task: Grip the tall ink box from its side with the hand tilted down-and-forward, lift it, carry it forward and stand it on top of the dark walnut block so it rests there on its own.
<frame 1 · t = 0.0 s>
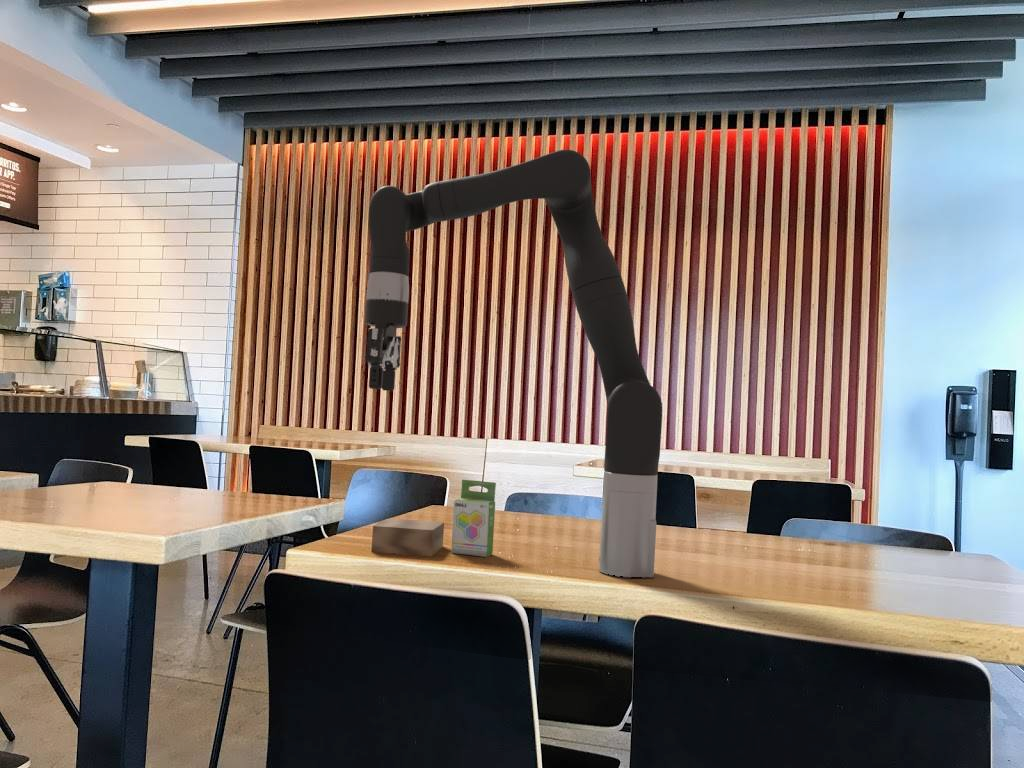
hand: (381, 389, 145), 29 cm above the table, tool pointing down, fingers open, 8 cm apart
ink box: (471, 555, 149), on the table
walnut block: (408, 550, 150), on the table
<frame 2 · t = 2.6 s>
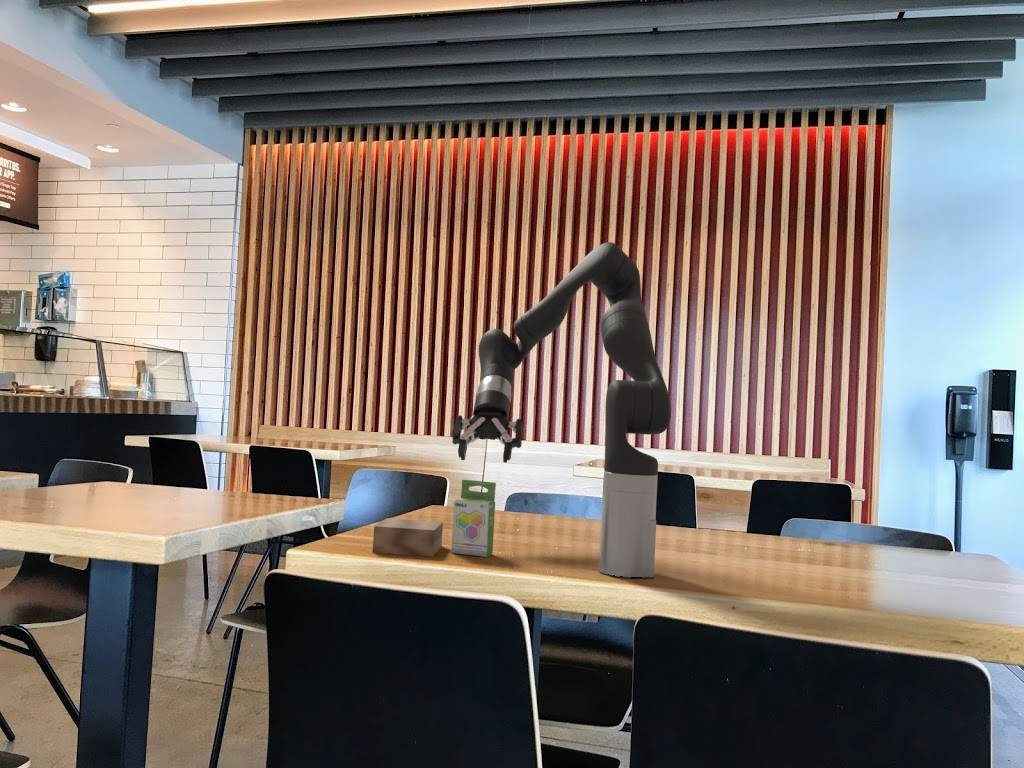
hand: (483, 458, 161), 17 cm above the table, tool tilted 45°, fingers open, 8 cm apart
nothing on the table moved.
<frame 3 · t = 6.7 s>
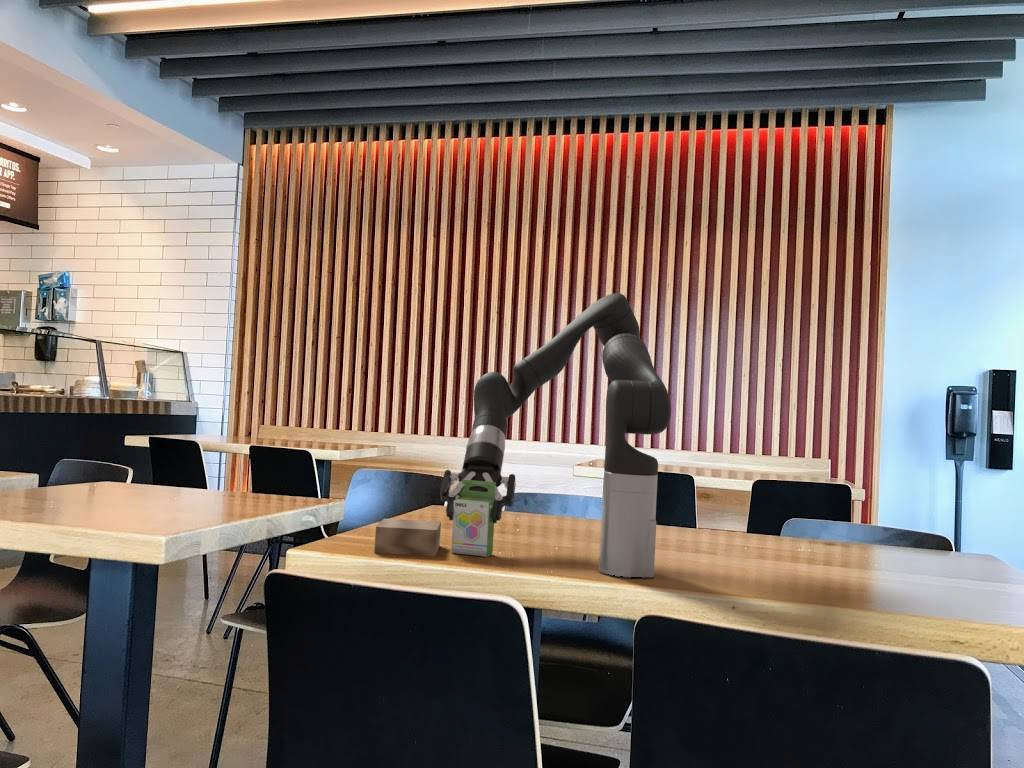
hand: (472, 519, 148), 7 cm above the table, tool tilted 45°, fingers closed on ink box, 7 cm apart
ink box: (471, 555, 149), on the table, touching gripper
everything else where it was.
when the fingers open (12 cm above the table, at t = 12.0 s): ink box stays where it is, resting on walnut block.
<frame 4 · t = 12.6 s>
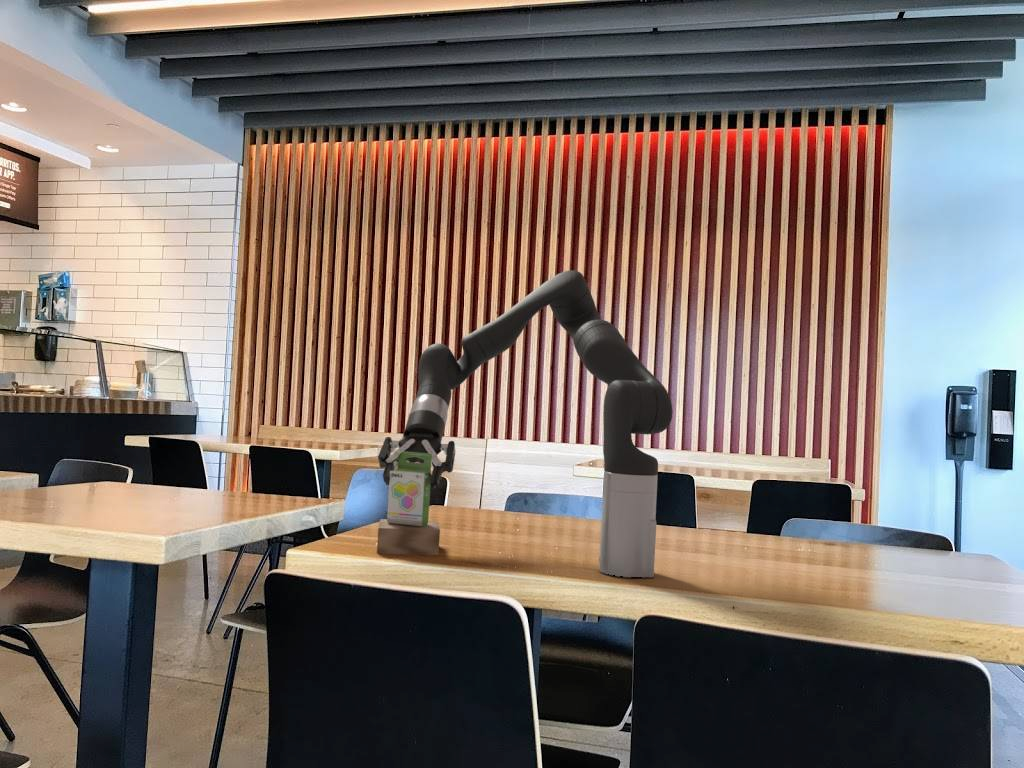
hand: (409, 483, 149), 12 cm above the table, tool tilted 45°, fingers open, 8 cm apart
ink box: (407, 525, 150), point 4 cm above the table, touching gripper, walnut block
walnut block: (407, 551, 150), on the table, touching ink box
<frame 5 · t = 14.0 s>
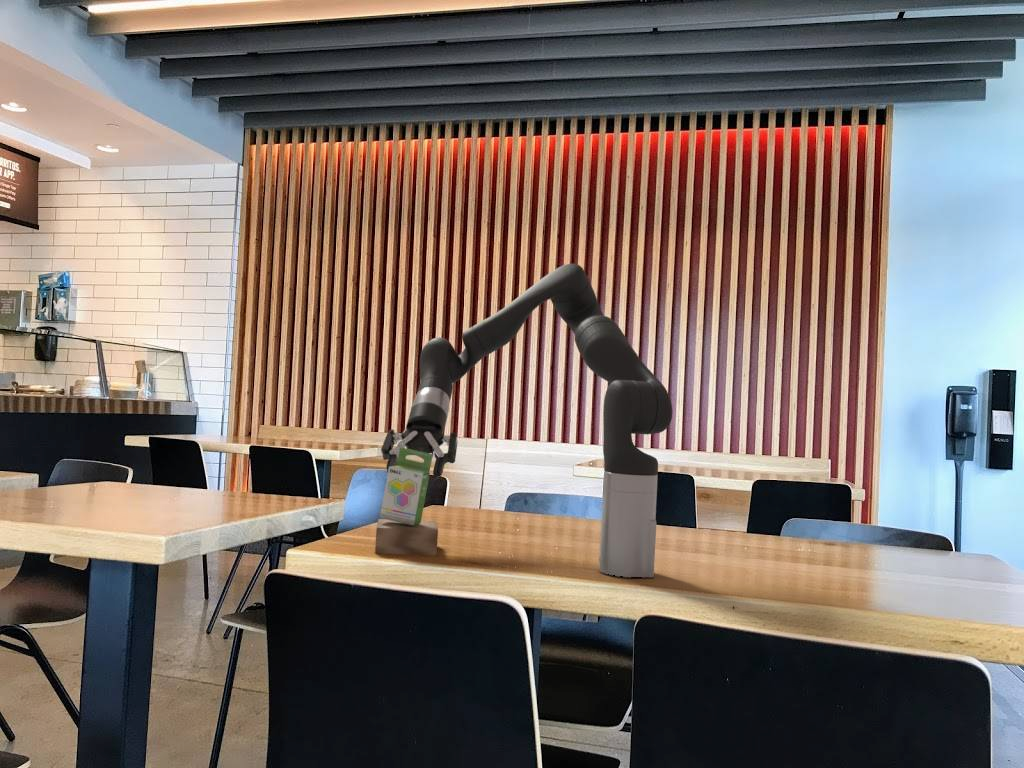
hand: (412, 474, 152), 14 cm above the table, tool tilted 45°, fingers open, 8 cm apart
ink box: (399, 522, 150), point 5 cm above the table, touching walnut block
everything else where it was.
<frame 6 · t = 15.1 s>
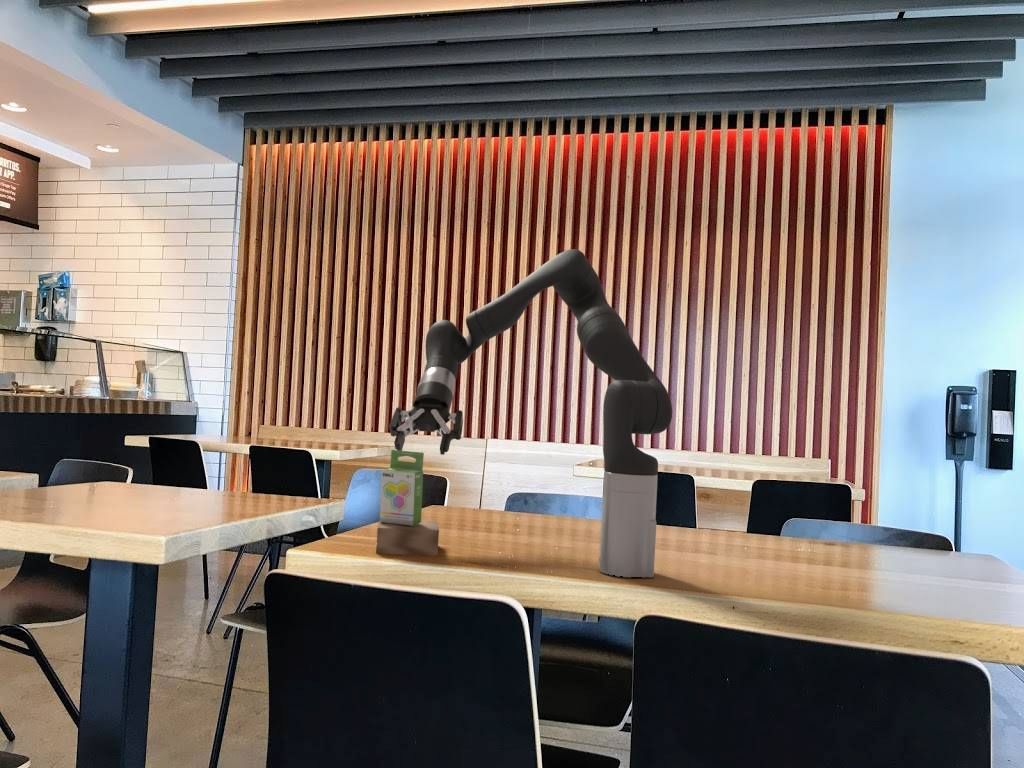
hand: (420, 450, 156), 18 cm above the table, tool tilted 45°, fingers open, 8 cm apart
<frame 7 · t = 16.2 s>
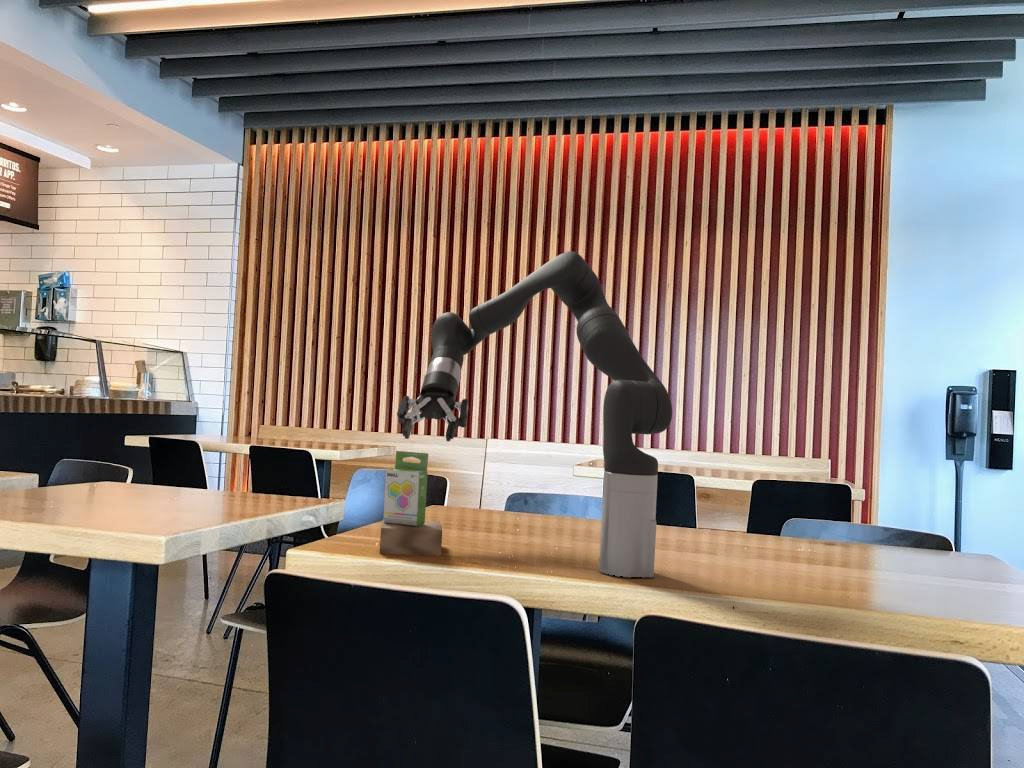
hand: (426, 437, 162), 21 cm above the table, tool tilted 45°, fingers open, 8 cm apart
nothing on the table moved.
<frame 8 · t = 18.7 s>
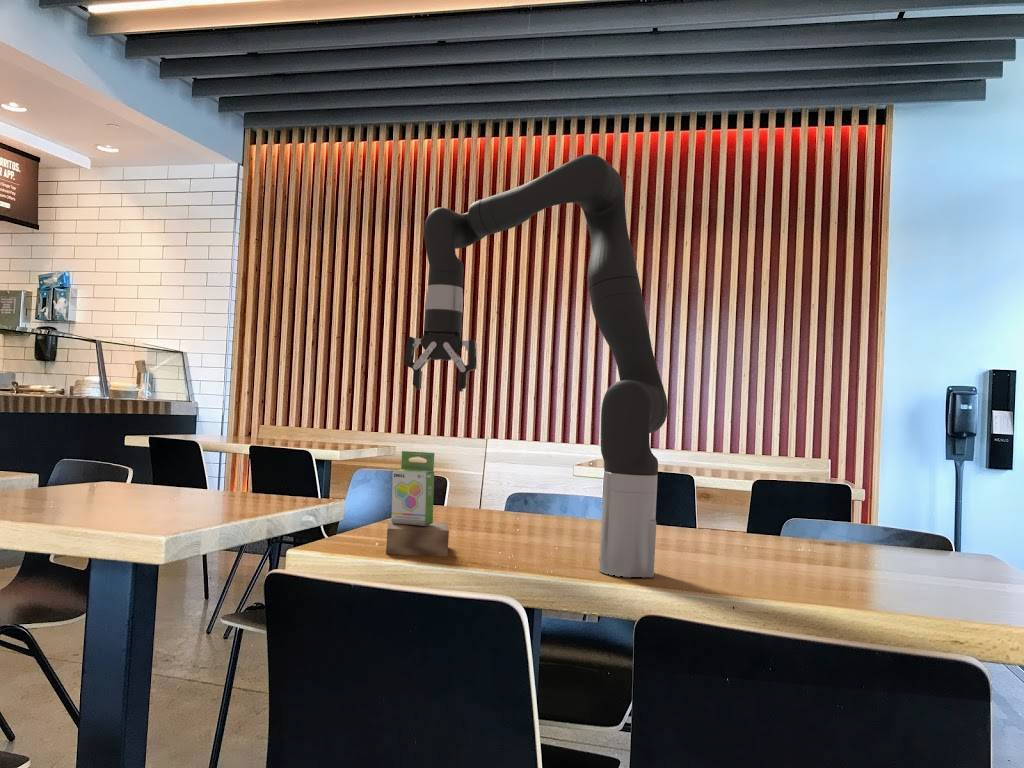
hand: (439, 390, 161), 30 cm above the table, tool pointing down, fingers open, 8 cm apart
ink box: (411, 525, 151), point 4 cm above the table
walnut block: (416, 552, 150), on the table
at the end: ink box 1.2 cm from the walnut block (horizontally); ink box point 4.4 cm above the table; ink box tilted 1° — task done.
